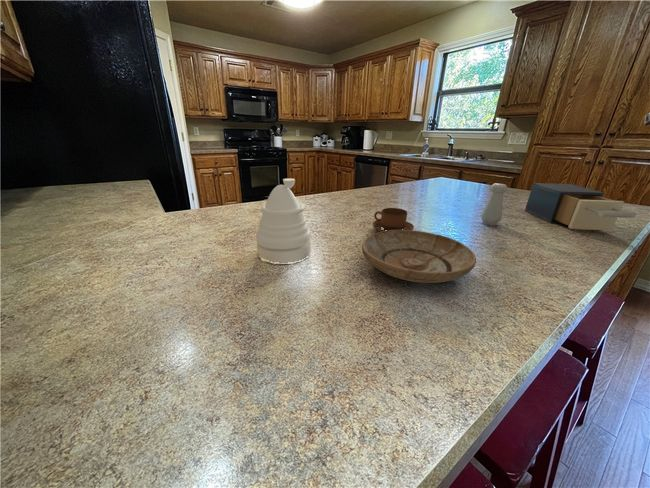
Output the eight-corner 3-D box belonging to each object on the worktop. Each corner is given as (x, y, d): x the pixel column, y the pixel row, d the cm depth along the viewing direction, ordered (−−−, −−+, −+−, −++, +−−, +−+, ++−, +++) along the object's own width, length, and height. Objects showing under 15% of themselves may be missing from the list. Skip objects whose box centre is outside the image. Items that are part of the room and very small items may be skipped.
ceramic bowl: (498, 282, 54) (504, 260, 52) (401, 308, 46) (405, 283, 44) (420, 241, 74) (423, 224, 72) (343, 253, 66) (344, 234, 64)
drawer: (631, 238, 75) (646, 207, 71) (587, 236, 76) (600, 206, 72) (577, 217, 93) (587, 191, 89) (542, 215, 94) (551, 190, 90)
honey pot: (317, 246, 70) (317, 176, 63) (300, 268, 59) (297, 186, 52) (272, 240, 73) (267, 173, 66) (247, 260, 62) (238, 182, 55)
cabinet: (590, 224, 88) (604, 192, 84) (549, 222, 89) (561, 191, 85) (559, 212, 102) (570, 184, 97) (524, 210, 103) (533, 183, 99)
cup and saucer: (370, 236, 77) (372, 215, 74) (373, 223, 88) (375, 204, 85) (414, 240, 74) (417, 219, 72) (411, 226, 85) (414, 207, 83)
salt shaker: (503, 226, 85) (515, 186, 80) (485, 226, 85) (496, 185, 80) (493, 221, 91) (503, 182, 86) (476, 220, 91) (485, 182, 86)
